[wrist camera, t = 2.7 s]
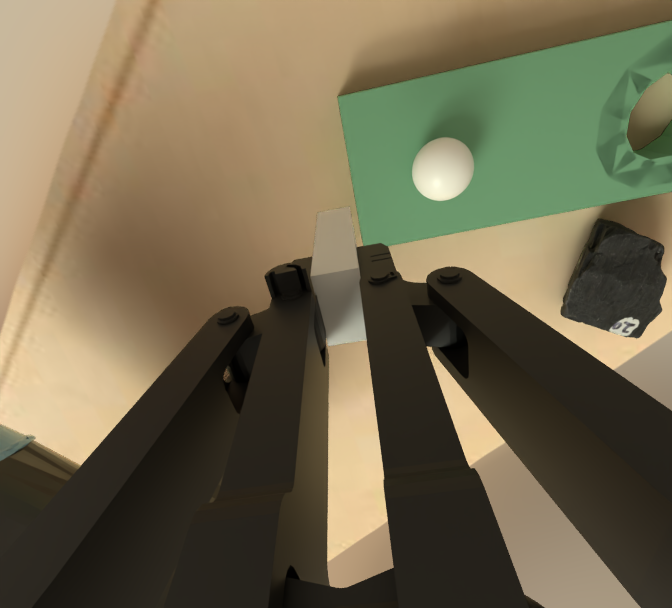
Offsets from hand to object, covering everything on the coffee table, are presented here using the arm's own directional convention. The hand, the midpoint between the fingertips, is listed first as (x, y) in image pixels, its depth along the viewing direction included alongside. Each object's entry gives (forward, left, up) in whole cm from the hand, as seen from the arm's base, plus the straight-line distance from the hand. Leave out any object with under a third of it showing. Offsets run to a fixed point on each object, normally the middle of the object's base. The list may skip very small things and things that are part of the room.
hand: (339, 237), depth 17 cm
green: (+15, 0, -14) cm, 21 cm away
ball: (+7, 0, -9) cm, 12 cm away
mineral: (+21, -14, -15) cm, 29 cm away
